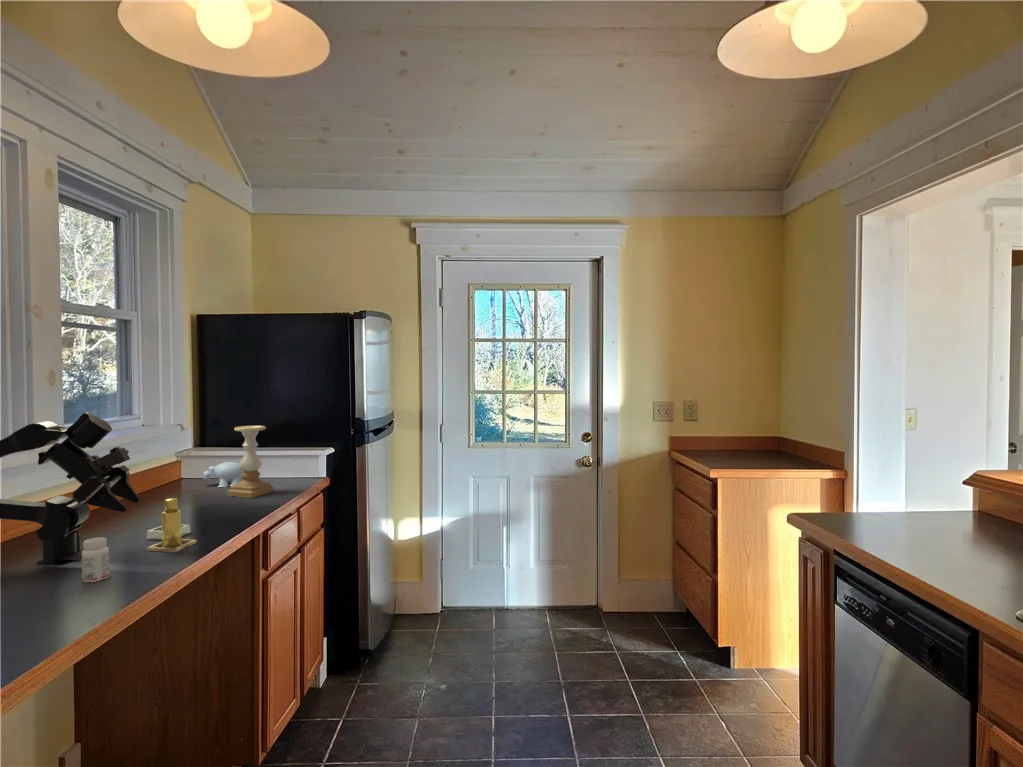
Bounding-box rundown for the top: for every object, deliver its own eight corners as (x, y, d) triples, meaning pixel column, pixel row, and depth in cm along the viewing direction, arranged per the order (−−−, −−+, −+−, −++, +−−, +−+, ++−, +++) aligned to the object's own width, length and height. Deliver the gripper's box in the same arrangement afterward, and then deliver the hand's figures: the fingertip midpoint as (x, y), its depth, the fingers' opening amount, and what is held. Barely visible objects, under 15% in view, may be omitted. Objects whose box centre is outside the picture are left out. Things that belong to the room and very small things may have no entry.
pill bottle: (105, 573, 126) (104, 535, 126) (112, 578, 123) (112, 539, 123) (79, 579, 122) (78, 540, 122) (85, 584, 119) (85, 544, 119)
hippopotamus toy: (204, 483, 222) (204, 459, 222) (247, 481, 228) (247, 457, 227) (201, 489, 212) (200, 463, 212) (245, 486, 218) (245, 461, 217)
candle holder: (249, 489, 211) (249, 424, 210) (274, 491, 208) (273, 425, 207) (226, 496, 201) (225, 427, 200) (252, 498, 197) (251, 429, 196)
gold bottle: (167, 552, 137) (166, 502, 137) (159, 549, 139) (158, 499, 139) (184, 547, 140) (183, 499, 140) (176, 544, 143) (175, 496, 142)
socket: (171, 546, 145) (171, 532, 145) (146, 544, 146) (146, 531, 146) (190, 537, 152) (190, 524, 152) (166, 536, 153) (166, 523, 153)
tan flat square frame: (175, 558, 136) (175, 549, 136) (146, 556, 137) (146, 547, 137) (197, 548, 143) (197, 539, 143) (170, 547, 144) (169, 538, 144)
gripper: (87, 442, 127) (145, 488, 130) (119, 432, 145) (169, 473, 148) (46, 480, 125) (106, 526, 128) (83, 465, 143) (135, 506, 146)
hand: (132, 505), depth 138 cm, fingers open, 9 cm apart
